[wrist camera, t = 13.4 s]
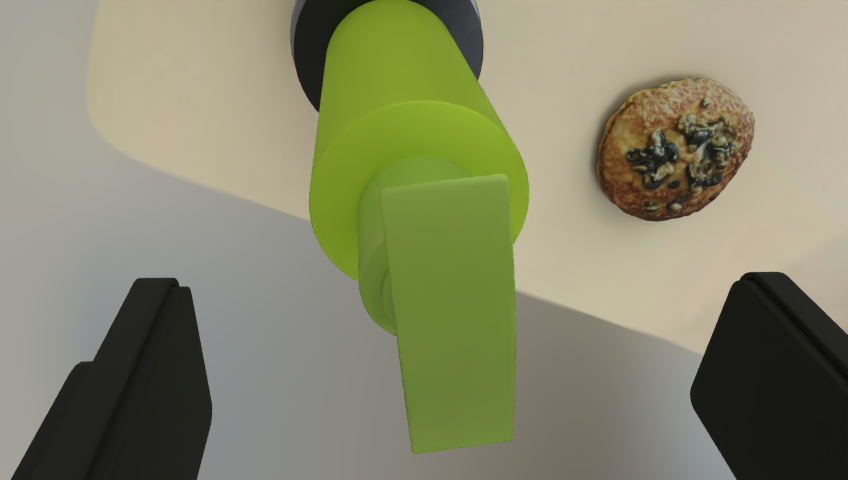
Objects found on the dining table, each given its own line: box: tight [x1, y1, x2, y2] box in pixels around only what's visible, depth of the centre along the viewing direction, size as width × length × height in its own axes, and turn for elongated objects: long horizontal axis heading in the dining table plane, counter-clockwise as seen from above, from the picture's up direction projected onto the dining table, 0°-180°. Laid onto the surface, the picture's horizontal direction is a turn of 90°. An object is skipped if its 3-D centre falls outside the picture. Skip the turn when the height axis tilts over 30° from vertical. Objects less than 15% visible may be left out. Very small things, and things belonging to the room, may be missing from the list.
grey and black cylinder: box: [290, 0, 483, 113], centre depth 32 cm, size 9×9×12 cm
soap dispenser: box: [309, 0, 529, 454], centre depth 18 cm, size 6×7×20 cm
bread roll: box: [596, 78, 755, 221], centre depth 43 cm, size 11×11×5 cm
